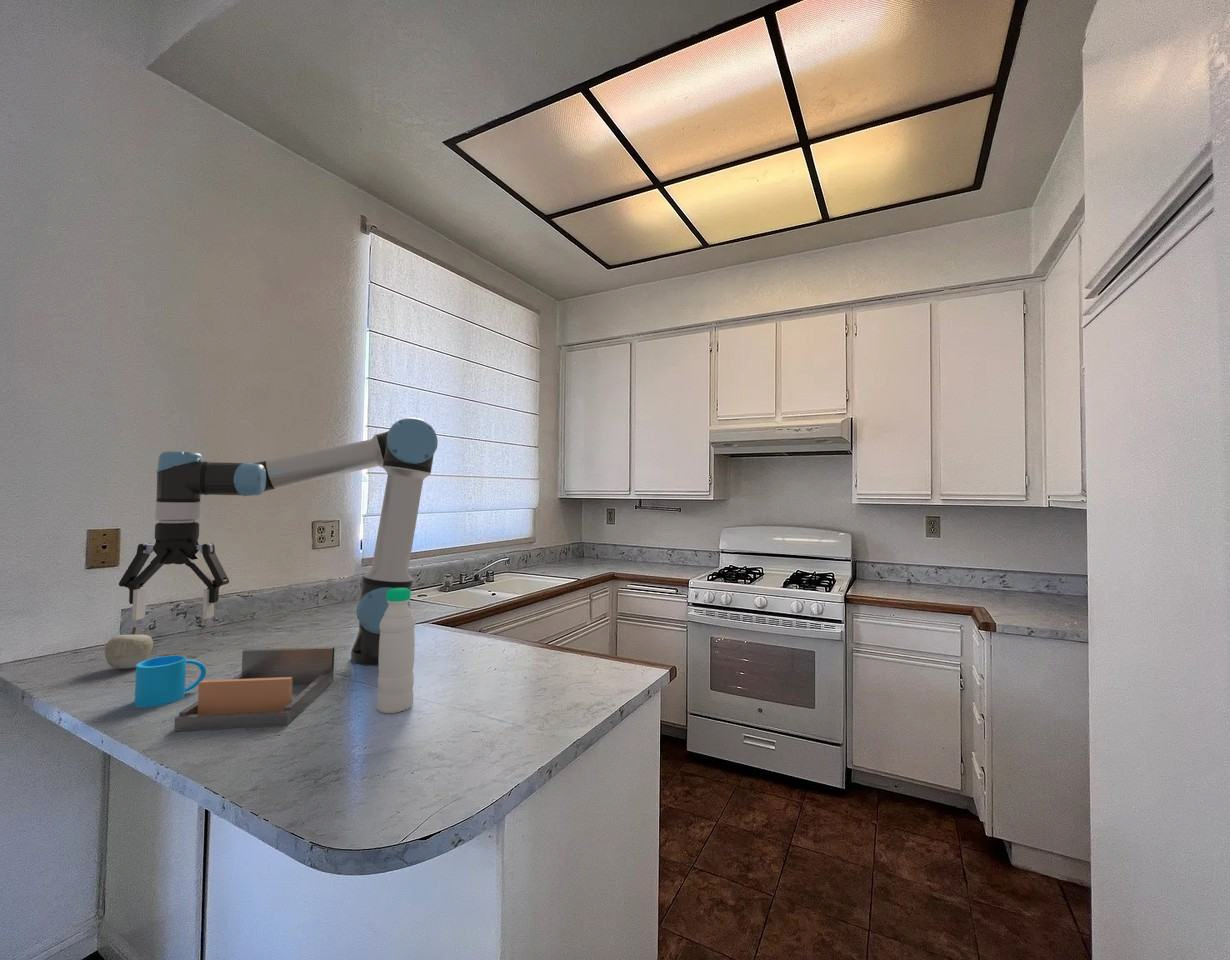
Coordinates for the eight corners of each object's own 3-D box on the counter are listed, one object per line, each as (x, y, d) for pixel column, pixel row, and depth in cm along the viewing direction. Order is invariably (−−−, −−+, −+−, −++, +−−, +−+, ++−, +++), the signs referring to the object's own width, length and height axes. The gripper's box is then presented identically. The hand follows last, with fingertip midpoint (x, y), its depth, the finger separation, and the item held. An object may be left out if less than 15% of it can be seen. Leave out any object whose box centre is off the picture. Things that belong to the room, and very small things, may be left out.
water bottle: (377, 717, 105) (381, 593, 106) (375, 704, 111) (379, 587, 112) (414, 711, 108) (418, 590, 109) (411, 699, 115) (414, 585, 115)
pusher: (297, 706, 109) (298, 672, 109) (288, 715, 105) (289, 679, 105) (210, 710, 106) (211, 675, 106) (197, 719, 102) (198, 682, 102)
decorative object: (102, 677, 124) (104, 634, 125) (105, 667, 131) (107, 627, 131) (152, 669, 130) (153, 629, 130) (152, 660, 137) (154, 622, 137)
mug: (139, 710, 106) (140, 670, 106) (130, 700, 111) (132, 661, 111) (211, 693, 116) (212, 656, 116) (200, 684, 121) (201, 649, 121)
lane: (333, 680, 125) (334, 646, 125) (287, 725, 101) (288, 683, 101) (243, 684, 121) (245, 649, 122) (174, 731, 97) (176, 688, 98)
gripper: (248, 521, 121) (245, 613, 120) (126, 520, 117) (122, 615, 116) (230, 523, 113) (226, 621, 113) (99, 521, 109) (94, 623, 109)
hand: (173, 618), depth 114 cm, fingers open, 13 cm apart
